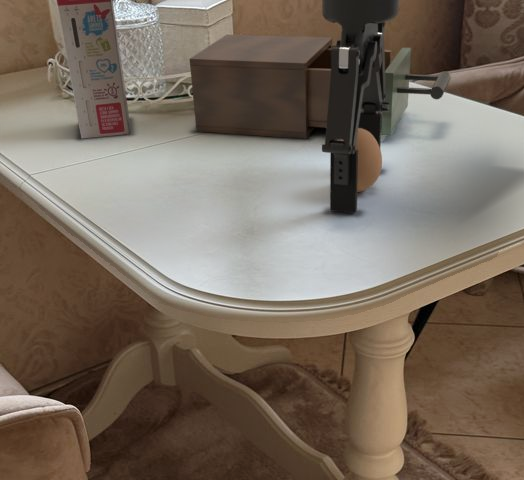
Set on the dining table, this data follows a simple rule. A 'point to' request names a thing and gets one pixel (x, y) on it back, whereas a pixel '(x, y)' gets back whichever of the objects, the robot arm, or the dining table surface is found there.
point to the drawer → (395, 88)
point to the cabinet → (254, 84)
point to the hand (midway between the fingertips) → (356, 188)
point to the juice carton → (95, 66)
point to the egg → (367, 159)
